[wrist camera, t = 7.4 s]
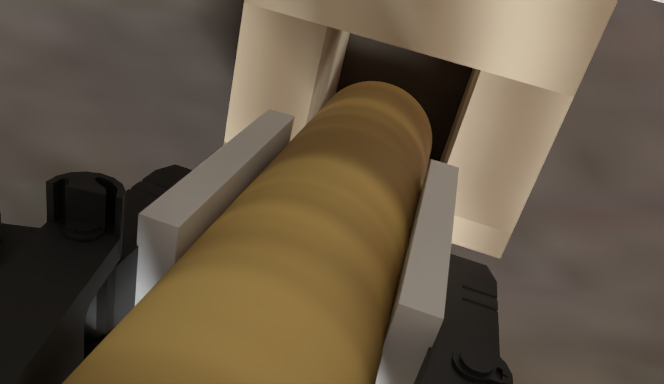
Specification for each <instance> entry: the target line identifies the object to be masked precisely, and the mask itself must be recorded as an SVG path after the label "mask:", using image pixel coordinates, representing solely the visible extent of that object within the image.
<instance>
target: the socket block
mask: <svg viewBox="0 0 664 384" xmlns="http://www.w3.org/2000/svg"><path fill="white" fill-rule="evenodd" d="M617 1H618V0H244V6H243V13H242V20H241V27H240V34H239V41H238V48H237V55H236V62H235V69H234V76H233V83H232V90H231V97H230V104H229V111H228V118H227V125H226V132H225V139H224V145H225V144H226V143H227V142H229V141H230V140H231V139H232V138H234V137H235V136H236V135H237V134H239V133H240V132H241V131H242V130H244V129H245V128H246V127H247V126H249V125H250V124H251V123H252V122H254V121H255V120H256V119H257V118H259V117H260V116H261V115H262V114H264V113H265V112H266V111H267V110H269V109H271V110H275V111H278V112H281V113H284V114H288V115H291V116H294V122H293V127H292V132H291V137H290V141H291V140H292V139H293V138H294V137H295V136H296V135H297V134H298V133H299V132H300V131H301V130H302V129H303V127H304V126H305V125H306V124H307V123H308V122H309V121H310V120H311V119H312V118H313V117H314V116H315V115H316V114H317V113H318V112H319V111H320V109H321V108H322V107H323V106H324V105H325V104H326V103H327V102H328V101H329V100H330V99H331V98H332V97H333V96H334V95H335V94H336V91H337V87H338V83H339V79H340V74H341V70H342V66H343V62H344V57H345V53H346V49H347V45H348V41H349V36H350V33H352V34H356V35H359V36H363V37H366V38H370V39H373V40H377V41H380V42H384V43H387V44H391V45H394V46H397V47H401V48H404V49H408V50H411V51H415V52H418V53H422V54H425V55H429V56H432V57H436V58H439V59H443V60H446V61H450V62H453V63H457V64H460V65H464V66H467V67H471V68H473V69H472V72H471V75H470V78H469V80H468V83H467V86H466V89H465V92H464V95H463V97H462V100H461V103H460V106H459V109H458V111H457V114H456V117H455V120H454V123H453V126H452V128H451V131H450V134H449V137H448V140H447V143H446V145H445V148H444V151H443V154H442V157H441V159H440V162H442V163H446V164H449V165H452V166H455V167H459V172H458V182H457V192H456V202H455V212H454V222H453V232H452V242H451V243H454V244H457V245H460V246H463V247H466V248H469V249H472V250H475V251H478V252H481V253H484V254H487V255H490V256H493V257H496V258H501V256H502V254H503V251H504V249H505V247H506V245H507V243H508V240H509V238H510V236H511V234H512V232H513V229H514V227H515V225H516V223H517V221H518V218H519V216H520V214H521V212H522V210H523V207H524V205H525V203H526V201H527V199H528V197H529V194H530V192H531V190H532V188H533V186H534V183H535V181H536V179H537V177H538V175H539V172H540V170H541V168H542V166H543V164H544V161H545V159H546V157H547V155H548V153H549V150H550V148H551V146H552V144H553V142H554V139H555V137H556V135H557V133H558V131H559V128H560V126H561V124H562V122H563V120H564V118H565V115H566V113H567V111H568V109H569V107H570V104H571V102H572V100H573V98H574V96H575V93H576V91H577V89H578V87H579V85H580V82H581V80H582V78H583V76H584V74H585V71H586V69H587V67H588V65H589V63H590V60H591V58H592V56H593V54H594V52H595V50H596V47H597V45H598V43H599V41H600V39H601V36H602V34H603V32H604V30H605V28H606V25H607V23H608V21H609V19H610V17H611V14H612V12H613V10H614V8H615V6H616V3H617ZM431 160H432V159H430V158H429V161H428V165H427V169H426V173H425V177H426V174H427V171H428V168H429V165H430V163H431ZM424 180H425V178H424ZM423 183H424V182H423Z"/></svg>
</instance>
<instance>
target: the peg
mask: <svg viewBox="0 0 664 384" xmlns="http://www.w3.org/2000/svg"><path fill="white" fill-rule="evenodd" d="M431 148H432V131H431V126H430V123H429V119H428V117H427V115H426V113H425V111H424V110H423V108H422V107H421V105H420V104H419V103H418V102H417V100H416V99H414V98H413V97H412V96H411V95H410V94H409V93H407V92H406V91H404V90H403V89H401V88H399V87H397V86H394V85H392V84H389V83H385V82H379V81H364V82H359V83H355V84H352V85H350V86H347V87H345V88H343V89H342V90H340V91H339V92H337V93H336V94H335V95H334V96H333V97H332V98H331V99H330V100H329V101H328V102H327V103H326V104H325V105H324V106H323V107H322V108H321V109H320V111H319V112H318V113H317V114H316V115H315V116H314V117H313V118H312V119H311V120H310V121H309V122H308V123H307V124H306V125H305V126H304V127H303V129H302V130H301V131H300V132H299V133H298V134H297V135H296V136H295V137H294V138H293V139H292V140H291V141H290V142H289V143H288V144H287V146H286V147H285V148H284V149H283V150H282V151H281V152H280V153H279V154H278V155H277V156H276V157H275V158H274V159H273V160H272V161H271V162H270V164H269V165H268V166H267V167H266V168H265V169H264V170H263V171H262V172H261V173H260V174H259V175H258V176H257V177H256V178H255V179H254V180H253V182H252V183H251V184H250V185H249V186H248V187H247V188H246V189H245V190H244V191H243V192H242V193H241V194H240V195H239V196H238V197H237V198H236V200H235V201H234V202H233V203H232V204H231V205H230V206H229V207H228V208H227V209H226V210H225V211H224V212H223V213H222V214H221V215H220V216H219V218H218V219H217V220H216V221H215V222H214V223H213V224H212V225H211V226H210V227H209V228H208V229H207V230H206V231H205V232H204V233H203V235H202V236H201V237H200V238H199V239H198V240H197V241H196V242H195V243H194V244H193V245H192V246H191V247H190V248H189V249H188V250H187V251H186V253H185V254H184V255H183V256H182V257H181V258H180V259H179V260H178V261H177V262H176V263H175V264H174V265H173V266H172V267H171V268H170V269H169V271H168V272H167V273H166V274H165V275H164V276H163V277H162V278H161V279H160V280H159V281H158V282H157V283H156V284H155V285H154V286H153V287H152V289H151V290H150V291H149V292H148V293H147V294H146V295H145V296H144V297H143V298H142V299H141V300H140V301H139V302H138V303H137V304H136V305H135V307H134V308H133V309H132V310H131V311H130V312H129V313H128V314H127V315H126V316H125V317H124V318H123V319H122V320H121V321H120V322H119V324H118V325H117V326H116V327H115V328H114V329H113V330H112V331H111V332H110V333H109V334H108V335H107V336H106V337H105V338H104V339H103V340H102V342H101V343H100V344H99V345H98V346H97V347H96V348H95V349H94V350H93V351H92V352H91V353H90V354H89V355H88V356H87V357H86V358H85V360H84V361H83V362H82V363H81V364H80V365H79V366H78V367H77V368H76V369H75V370H74V371H73V372H72V373H71V374H70V375H69V376H68V378H67V379H66V380H65V381H64V382H63V383H62V384H375V383H376V379H377V374H378V370H379V366H380V362H381V358H382V352H383V345H384V341H385V336H386V332H387V328H388V324H389V320H390V316H391V312H392V308H393V303H394V299H395V295H396V291H397V287H398V283H399V279H400V274H401V270H402V266H403V262H404V258H405V254H406V250H407V246H408V241H409V237H410V233H411V229H412V225H413V221H414V217H415V212H416V208H417V204H418V200H419V196H420V192H421V189H422V186H423V182H424V178H425V173H426V169H427V165H428V161H429V157H430V153H431Z"/></svg>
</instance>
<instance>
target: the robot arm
mask: <svg viewBox="0 0 664 384" xmlns="http://www.w3.org/2000/svg"><path fill="white" fill-rule="evenodd" d="M293 122H294V116H291V115H288V114H284V113H281V112H278V111H275V110H271V109H269V110H267V111H266V112H265V113H264V114H262V115H261V116H260V117H259V118H257V119H256V120H255V121H254V122H252V123H251V124H250V125H249V126H247V127H246V128H245V129H244V130H242V131H241V132H240V133H239V134H237V135H236V136H235V137H234V138H232V139H231V140H230V141H229V142H227V143H226V144H225V145H224V146H222V147H221V148H220V149H219V150H217V151H216V152H215V153H214V154H212V155H211V156H210V157H209V158H207V159H206V160H205V161H204V162H202V163H201V164H200V165H199V166H198V167H196V168H195V169H194V170H190V169H187V168H184V167H181V166H178V165H172V166H168V167H165V168H161V169H158V170H155V171H154V172H152V173H151V174H150V175H148V176H147V177H145V178H144V179H143V180H142V182H141V181H140V182H138V183H137V184H135V185H134V186H133V187H132V188H131V190H130V189H128V190H127V191H126V192H125V189H124V187H123V184H122V183H120V182H119V181H117V180H116V179H115V178H113V177H110V176H107V175H104V174H101V173H93V172H70V173H66V174H62V175H58V176H55V177H54V178H52V179H50V180H48V181H46V198H47V222H46V223H45V224H44V225H43V226H42V227H41V228H34V227H26V226H19V225H11V224H3V223H1V214H0V384H62V383H63V382H64V381H65V380H66V379H67V378H68V376H69V375H70V374H71V373H72V372H73V371H74V370H75V369H76V368H77V367H78V366H79V365H80V364H81V363H82V362H83V361H84V360H85V358H86V357H87V356H88V355H89V354H90V353H91V352H92V351H93V350H94V349H95V348H96V347H97V346H98V345H99V344H100V343H101V342H102V340H103V339H104V338H105V337H106V336H107V335H108V334H109V333H110V332H111V331H112V330H113V329H114V328H115V327H116V326H117V325H118V324H119V322H120V321H121V320H122V319H123V318H124V317H125V316H126V315H127V314H128V313H129V312H130V311H131V310H132V309H133V308H134V307H135V305H136V304H137V303H138V302H139V301H140V300H141V299H142V298H143V297H144V296H145V295H146V294H147V293H148V292H149V291H150V290H151V289H152V287H153V286H154V285H155V284H156V283H157V282H158V281H159V280H160V279H161V278H162V277H163V276H164V275H165V274H166V273H167V272H168V271H169V269H170V268H171V267H172V266H173V265H174V264H175V263H176V262H177V261H178V260H179V259H180V258H181V257H182V256H183V255H184V254H185V253H186V251H187V250H188V249H189V248H190V247H191V246H192V245H193V244H194V243H195V242H196V241H197V240H198V239H199V238H200V237H201V236H202V235H203V233H204V232H205V231H206V230H207V229H208V228H209V227H210V226H211V225H212V224H213V223H214V222H215V221H216V220H217V219H218V218H219V216H220V215H221V214H222V213H223V212H224V211H225V210H226V209H227V208H228V207H229V206H230V205H231V204H232V203H233V202H234V201H235V200H236V198H237V197H238V196H239V195H240V194H241V193H242V192H243V191H244V190H245V189H246V188H247V187H248V186H249V185H250V184H251V183H252V182H253V180H254V179H255V178H256V177H257V176H258V175H259V174H260V173H261V172H262V171H263V170H264V169H265V168H266V167H267V166H268V165H269V164H270V162H271V161H272V160H273V159H274V158H275V157H276V156H277V155H278V154H279V153H280V152H281V151H282V150H283V149H284V148H285V147H286V146H287V144H288V143H289V142H290V137H291V132H292V127H293ZM458 172H459V167H455V166H452V165H449V164H446V163H442V162H439V161H436V160H433V159H432V160H431V163H430V165H429V168H428V171H427V174H426V177H425V180H424V183H423V186H422V189H421V192H420V196H419V200H418V204H417V208H416V212H415V217H414V221H413V225H412V229H411V233H410V237H409V241H408V246H407V250H406V254H405V258H404V262H403V266H402V270H401V274H400V279H399V283H398V287H397V291H396V295H395V299H394V303H393V308H392V312H391V316H390V320H389V324H388V328H387V332H386V336H385V341H384V345H383V352H382V358H381V362H380V366H379V370H378V374H377V379H376V383H375V384H513V377H512V373H511V372H510V370H509V368H508V366H507V364H506V363H505V362H504V361H503V360H502V359H501V357H500V350H499V326H498V312H497V310H498V303H497V300H496V299H497V282H496V280H495V278H494V277H493V275H492V273H491V272H490V270H489V268H488V267H487V266H486V265H483V264H480V263H477V262H474V261H471V260H468V259H465V258H462V257H459V256H456V255H453V254H450V252H451V242H452V232H453V222H454V212H455V202H456V192H457V182H458Z"/></svg>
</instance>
